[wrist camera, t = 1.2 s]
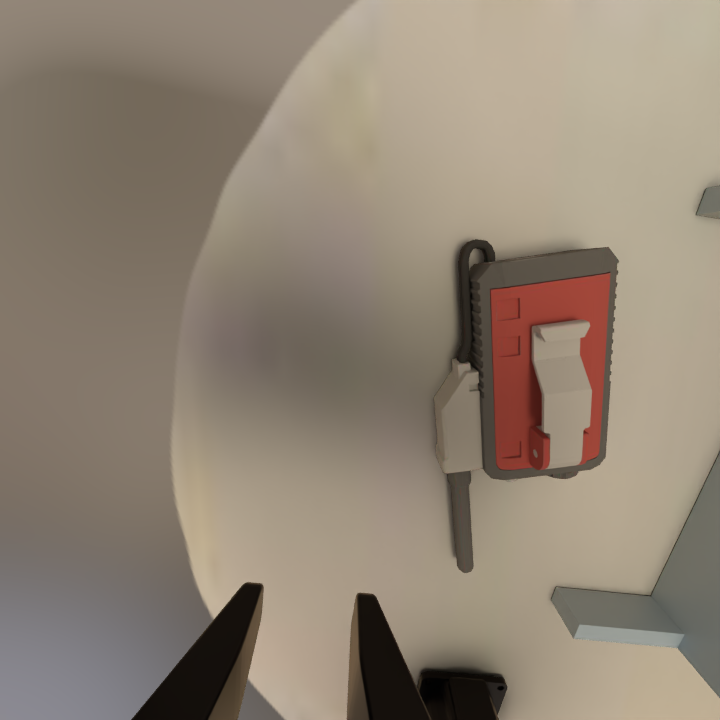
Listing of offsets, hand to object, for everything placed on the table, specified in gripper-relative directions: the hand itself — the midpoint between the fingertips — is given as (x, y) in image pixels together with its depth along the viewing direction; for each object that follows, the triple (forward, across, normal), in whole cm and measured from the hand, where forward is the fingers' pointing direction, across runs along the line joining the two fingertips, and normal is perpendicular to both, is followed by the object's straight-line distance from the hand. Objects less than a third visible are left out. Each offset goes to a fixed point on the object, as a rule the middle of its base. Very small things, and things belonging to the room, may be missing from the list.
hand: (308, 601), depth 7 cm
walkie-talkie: (+13, -10, 0) cm, 16 cm away
